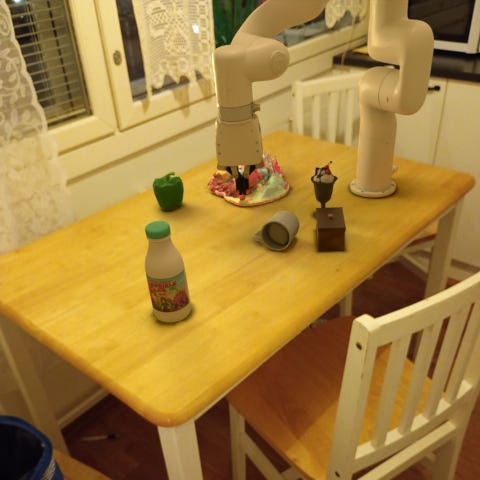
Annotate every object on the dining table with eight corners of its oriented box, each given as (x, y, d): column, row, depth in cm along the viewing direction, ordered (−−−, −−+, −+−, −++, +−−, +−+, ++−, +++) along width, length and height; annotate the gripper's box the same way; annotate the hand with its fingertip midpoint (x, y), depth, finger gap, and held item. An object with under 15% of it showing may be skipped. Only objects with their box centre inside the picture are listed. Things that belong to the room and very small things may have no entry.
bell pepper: (150, 211, 147) (144, 177, 141) (164, 198, 153) (159, 165, 147) (177, 214, 144) (171, 180, 138) (190, 201, 150) (185, 168, 144)
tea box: (317, 251, 124) (318, 225, 120) (315, 230, 132) (316, 205, 128) (344, 251, 123) (346, 225, 119) (340, 229, 131) (342, 204, 127)
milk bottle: (155, 303, 112) (137, 218, 99) (191, 299, 112) (178, 214, 100) (153, 325, 106) (134, 238, 93) (191, 321, 106) (177, 233, 94)
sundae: (335, 221, 135) (337, 164, 126) (309, 220, 136) (309, 164, 127) (336, 209, 140) (339, 154, 131) (311, 208, 141) (312, 154, 132)
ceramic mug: (301, 236, 130) (301, 208, 125) (291, 253, 124) (290, 223, 119) (261, 231, 133) (259, 203, 129) (249, 247, 128) (247, 218, 123)
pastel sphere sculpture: (193, 188, 157) (190, 157, 152) (251, 164, 169) (249, 135, 163) (251, 212, 142) (249, 180, 136) (309, 184, 154) (309, 153, 148)
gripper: (271, 103, 112) (275, 183, 124) (202, 108, 114) (213, 187, 125) (271, 114, 107) (275, 198, 118) (198, 119, 108) (209, 201, 120)
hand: (243, 192), depth 122 cm, fingers closed
